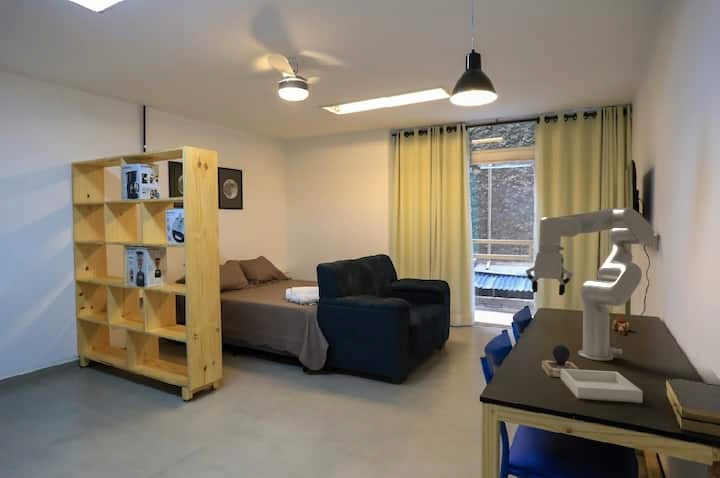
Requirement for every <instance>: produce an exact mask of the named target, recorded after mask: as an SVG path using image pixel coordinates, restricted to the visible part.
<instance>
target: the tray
mask: <svg viewBox="0 0 720 478" xmlns="http://www.w3.org/2000/svg"><path fill="white" fill-rule="evenodd" d="M578 369H579V368H578ZM578 369H561V377H559V378H560V380H561V381H562V382H563V384H565V386H566V387H567V388H568V389H569V390H570V392H571V393H572V394H573V395H574V396H575V397H576V398H577V399H579V400H595V401H608V402H622V403H624V402H625V403H637V404H643V393H644V392H643V390H642V389H640V388H639V387H638V386H637V385H635V384H634V383H632V381H629V380H628V379H627V378H626V377H624V376H623V375H622V374H621V373H619V372H618V371H607V370H594V369H593V370H592V369H591V370H590V369H589V370H588V369H579V370H578Z"/></svg>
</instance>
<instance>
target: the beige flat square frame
mask: <svg viewBox="0 0 720 478" xmlns="http://www.w3.org/2000/svg"><path fill="white" fill-rule="evenodd" d="M541 367H542V369H543V371H545V373H546V374H547V375H548V376H549V377H557V378H558V377H559V378H560V377H561V369H557V364H556V360H543V359H542V360H541ZM565 369H578V370H580V369H579V367H577V366H576V365H575V364H574V363H573V362H572V361H566V363H565Z"/></svg>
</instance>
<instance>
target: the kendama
mask: <svg viewBox="0 0 720 478" xmlns="http://www.w3.org/2000/svg"><path fill="white" fill-rule="evenodd" d="M629 328H630V323H629V322H627V321H626V320H625V319H624V318H621V317H618V318H615V319H614V320H613V322H612V329H613V330H615V329H616V330H618V331H617V333H618V334H622V335H621V336H625V334H626V332H625V331H629Z"/></svg>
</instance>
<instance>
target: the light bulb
mask: <svg viewBox="0 0 720 478" xmlns="http://www.w3.org/2000/svg"><path fill="white" fill-rule="evenodd" d="M570 353H571V352H570V350H569V348H568V347H567V346H565V345H564V344H557V345H555V346H554V347H553V349H552V356H553V358H554V361H556V364H557V369H565V363H566V362H568V360H569V358H570Z"/></svg>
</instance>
